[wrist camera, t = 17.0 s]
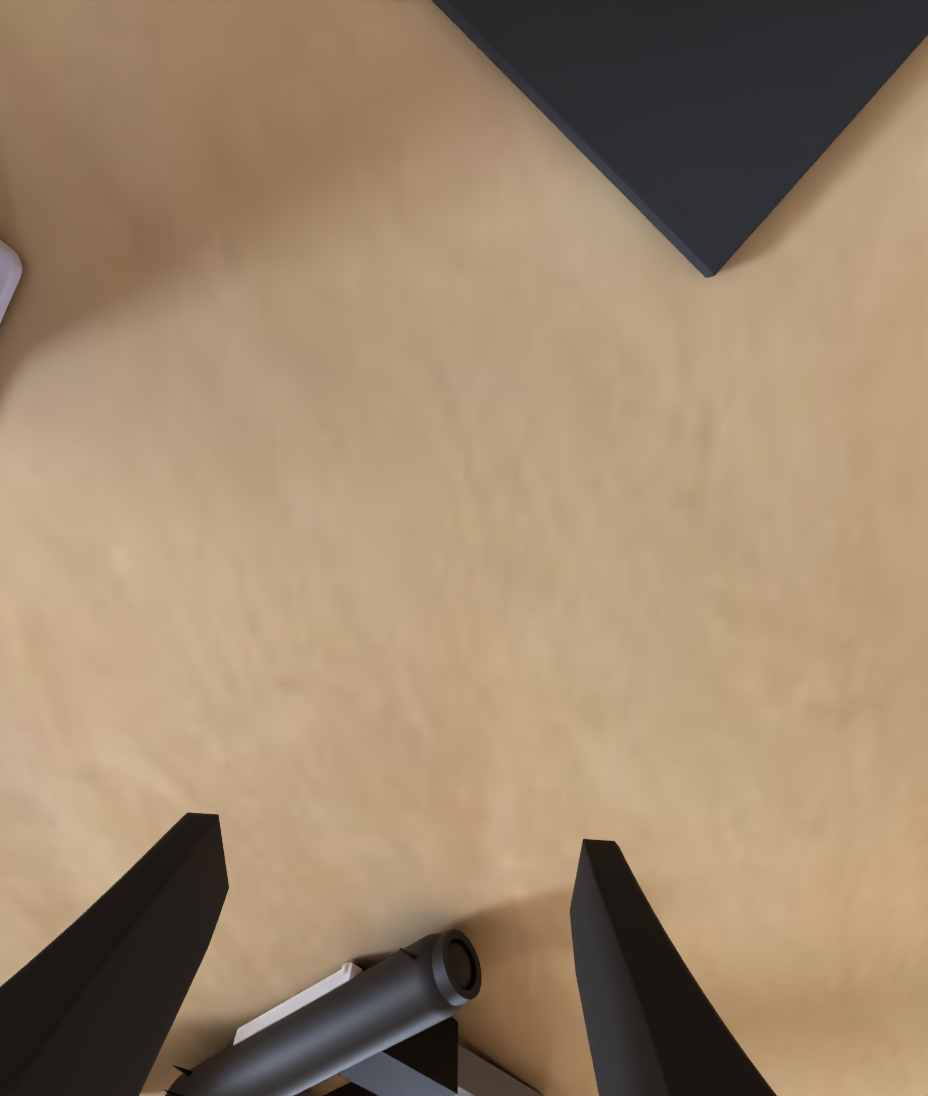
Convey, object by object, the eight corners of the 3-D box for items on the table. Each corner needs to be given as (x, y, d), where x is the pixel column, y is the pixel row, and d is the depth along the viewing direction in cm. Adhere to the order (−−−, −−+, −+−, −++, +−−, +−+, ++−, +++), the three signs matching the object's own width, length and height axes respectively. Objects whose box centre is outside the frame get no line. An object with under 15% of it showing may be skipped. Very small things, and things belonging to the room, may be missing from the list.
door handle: (649, 1122, 27) (419, 973, 22) (355, 1235, 32) (116, 1137, 27) (629, 1037, 30) (424, 889, 25) (364, 1154, 35) (150, 1052, 30)
